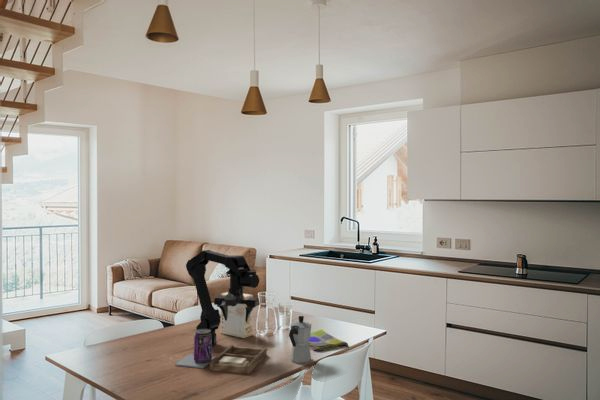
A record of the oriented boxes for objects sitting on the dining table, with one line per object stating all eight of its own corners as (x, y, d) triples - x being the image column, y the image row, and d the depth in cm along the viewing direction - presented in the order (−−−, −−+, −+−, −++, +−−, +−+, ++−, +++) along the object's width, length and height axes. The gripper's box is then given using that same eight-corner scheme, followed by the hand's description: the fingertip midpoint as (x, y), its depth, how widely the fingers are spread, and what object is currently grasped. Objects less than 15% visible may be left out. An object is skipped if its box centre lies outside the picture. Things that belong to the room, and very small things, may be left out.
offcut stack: (217, 370, 183) (217, 361, 183) (223, 364, 189) (223, 355, 189) (244, 372, 181) (244, 363, 181) (249, 367, 187) (249, 358, 187)
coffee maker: (299, 353, 202) (299, 311, 202) (317, 357, 197) (318, 314, 197) (280, 364, 189) (280, 319, 189) (299, 368, 185) (299, 322, 184)
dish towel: (323, 333, 233) (323, 328, 233) (350, 348, 212) (350, 341, 212) (291, 338, 226) (291, 332, 226) (315, 353, 204) (315, 347, 204)
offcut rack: (209, 370, 182) (209, 362, 182) (230, 351, 203) (230, 344, 203) (248, 374, 178) (249, 366, 178) (266, 355, 200) (266, 348, 200)
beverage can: (203, 364, 185) (203, 334, 185) (190, 361, 189) (190, 331, 189) (215, 359, 192) (215, 330, 192) (202, 356, 195) (202, 327, 195)
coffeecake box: (253, 335, 228) (253, 294, 228) (243, 338, 222) (244, 297, 222) (229, 330, 236) (229, 291, 236) (219, 333, 230) (220, 293, 230)
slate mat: (175, 365, 186) (175, 364, 186) (189, 355, 198) (189, 354, 198) (203, 368, 184) (203, 366, 184) (215, 358, 195) (215, 356, 195)
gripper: (208, 287, 198) (208, 324, 198) (251, 290, 194) (250, 328, 194) (219, 282, 209) (218, 318, 209) (259, 285, 204) (259, 321, 205)
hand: (236, 321), depth 204 cm, fingers open, 9 cm apart
